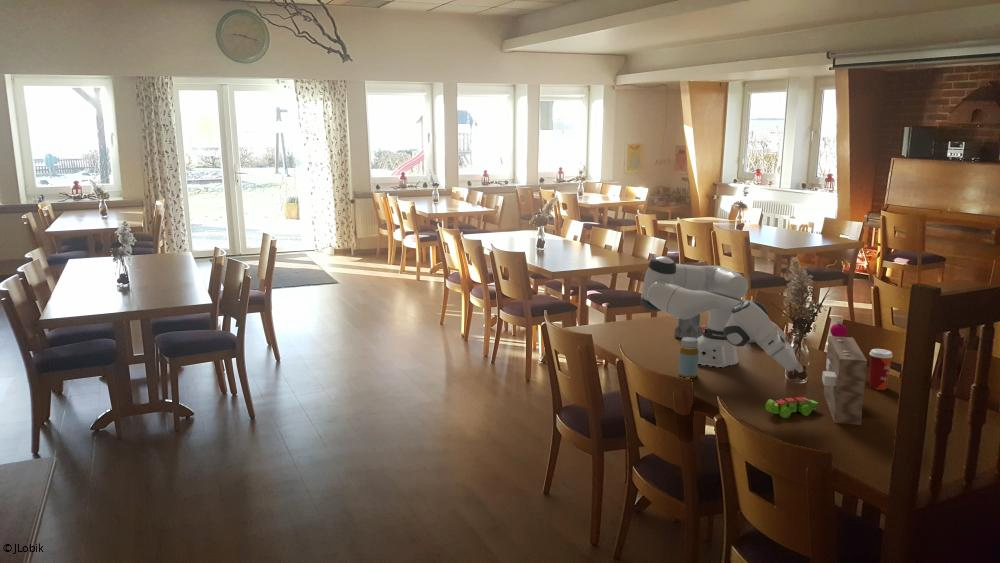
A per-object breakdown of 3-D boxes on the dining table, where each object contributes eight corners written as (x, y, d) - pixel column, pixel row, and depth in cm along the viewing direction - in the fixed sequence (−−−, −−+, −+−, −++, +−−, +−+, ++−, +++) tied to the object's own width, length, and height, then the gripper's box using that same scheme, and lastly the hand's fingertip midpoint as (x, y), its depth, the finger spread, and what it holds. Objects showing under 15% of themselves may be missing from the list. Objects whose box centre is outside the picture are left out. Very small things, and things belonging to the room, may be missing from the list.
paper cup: (888, 392, 264) (892, 355, 261) (865, 388, 268) (868, 352, 265) (890, 385, 271) (894, 350, 268) (867, 382, 275) (870, 346, 272)
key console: (834, 422, 240) (839, 357, 235) (823, 394, 264) (828, 335, 259) (860, 424, 237) (867, 359, 233) (847, 396, 262) (853, 336, 257)
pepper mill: (847, 372, 286) (851, 323, 281) (827, 371, 287) (831, 322, 283) (842, 366, 293) (847, 318, 288) (823, 365, 294) (827, 317, 290)
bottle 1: (705, 341, 329) (708, 280, 323) (677, 341, 329) (679, 281, 323) (698, 333, 341) (701, 274, 335) (671, 333, 341) (673, 275, 335)
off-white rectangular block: (824, 385, 241) (824, 376, 241) (821, 379, 246) (822, 370, 246) (843, 386, 240) (844, 377, 239) (841, 381, 245) (842, 372, 244)
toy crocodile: (810, 407, 253) (812, 390, 252) (822, 414, 247) (824, 397, 245) (759, 412, 249) (760, 396, 248) (770, 420, 243) (771, 403, 241)
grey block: (828, 372, 254) (828, 363, 253) (826, 367, 258) (826, 358, 258) (846, 373, 252) (847, 364, 251) (844, 368, 257) (845, 360, 256)
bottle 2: (687, 380, 280) (688, 343, 277) (675, 374, 286) (676, 338, 283) (701, 377, 283) (702, 340, 280) (688, 371, 289) (690, 335, 286)
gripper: (764, 337, 255) (791, 366, 255) (766, 354, 236) (796, 386, 236) (778, 326, 253) (806, 355, 252) (781, 342, 234) (812, 374, 233)
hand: (801, 370), depth 244 cm, fingers closed
